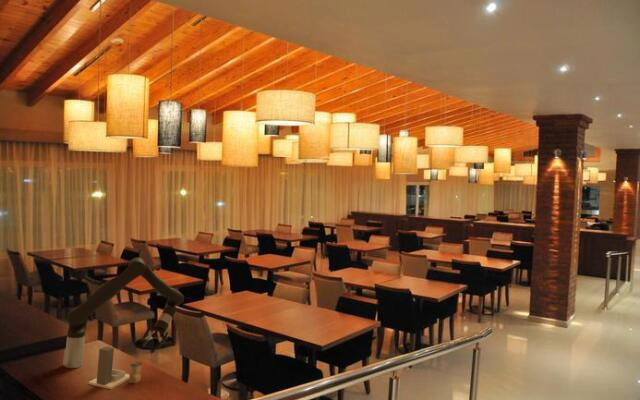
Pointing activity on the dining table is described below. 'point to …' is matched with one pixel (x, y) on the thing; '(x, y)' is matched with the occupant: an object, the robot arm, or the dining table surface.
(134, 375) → the rail end
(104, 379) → the grey pillar stand
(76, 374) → the dining table surface
